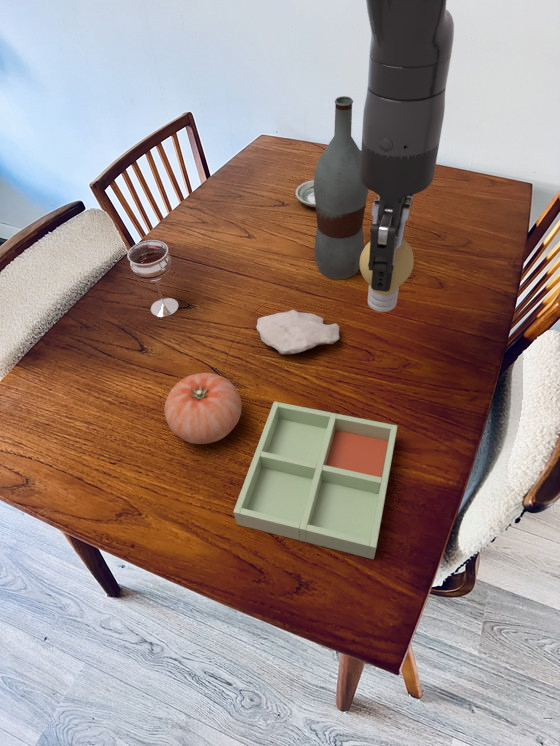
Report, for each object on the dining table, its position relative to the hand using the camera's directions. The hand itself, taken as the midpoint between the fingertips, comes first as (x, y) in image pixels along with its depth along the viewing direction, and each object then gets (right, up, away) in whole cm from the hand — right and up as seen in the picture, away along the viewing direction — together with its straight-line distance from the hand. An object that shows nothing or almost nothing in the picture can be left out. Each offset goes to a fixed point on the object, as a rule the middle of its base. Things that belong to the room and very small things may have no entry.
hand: (385, 270), depth 63 cm
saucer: (-5, +25, +50) cm, 56 cm away
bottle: (-2, +8, +35) cm, 36 cm away
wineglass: (-34, -1, +30) cm, 45 cm away
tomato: (-24, -20, +13) cm, 34 cm away
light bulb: (0, -4, +5) cm, 6 cm away
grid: (-8, -27, +6) cm, 28 cm away
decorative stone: (-10, -7, +23) cm, 26 cm away
